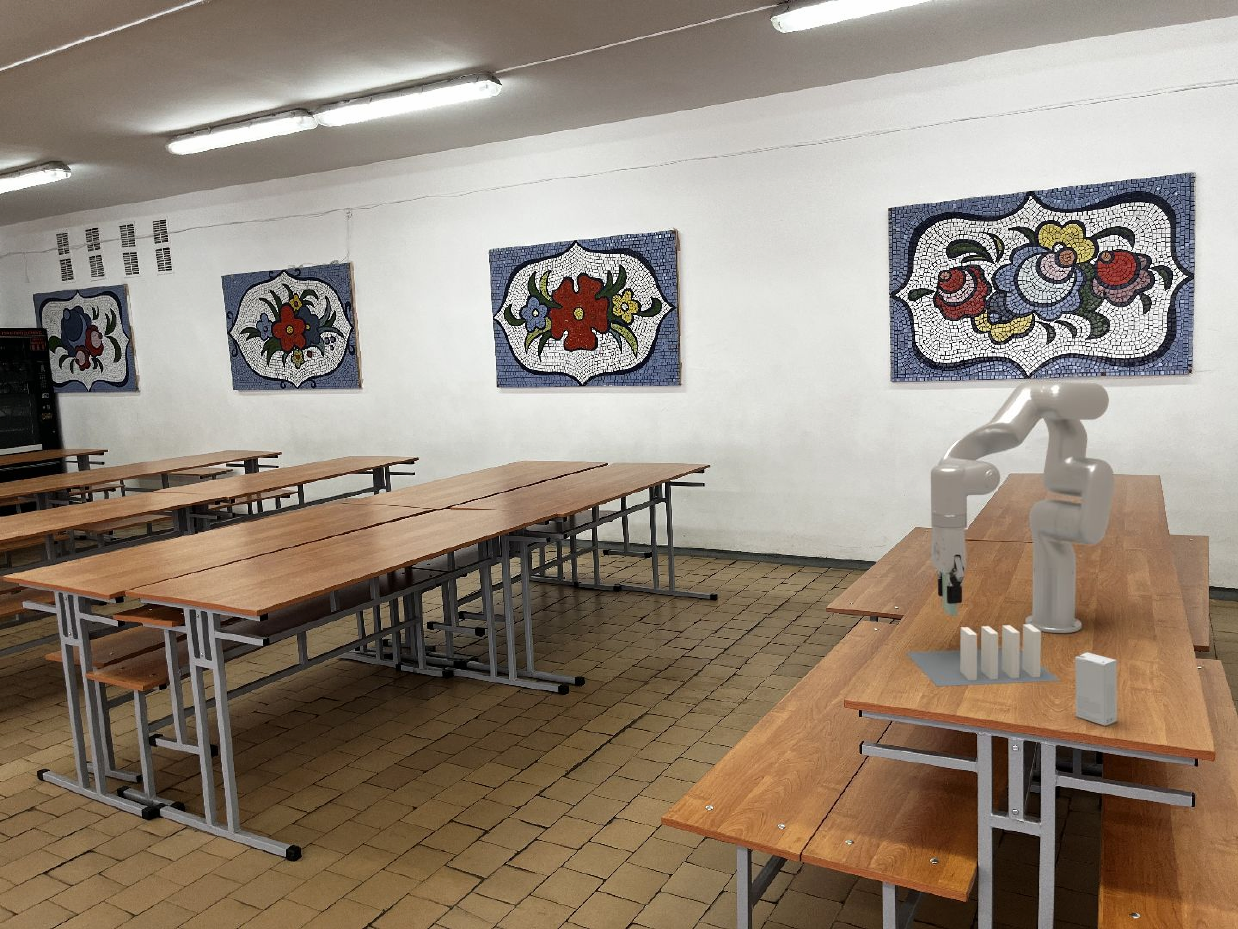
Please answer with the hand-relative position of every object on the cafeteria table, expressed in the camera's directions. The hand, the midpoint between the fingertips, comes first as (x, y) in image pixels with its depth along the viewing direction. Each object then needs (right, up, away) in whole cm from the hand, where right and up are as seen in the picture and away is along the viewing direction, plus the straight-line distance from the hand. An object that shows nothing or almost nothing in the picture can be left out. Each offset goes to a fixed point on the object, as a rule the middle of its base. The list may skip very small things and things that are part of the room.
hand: (949, 598), depth 210 cm
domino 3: (+9, -15, -10) cm, 20 cm away
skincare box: (+16, -18, -33) cm, 41 cm away
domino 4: (+14, -15, -10) cm, 22 cm away
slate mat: (+5, -15, -5) cm, 16 cm away
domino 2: (+5, -15, -10) cm, 19 cm away
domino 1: (0, -15, -10) cm, 18 cm away
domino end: (0, -3, +1) cm, 3 cm away
